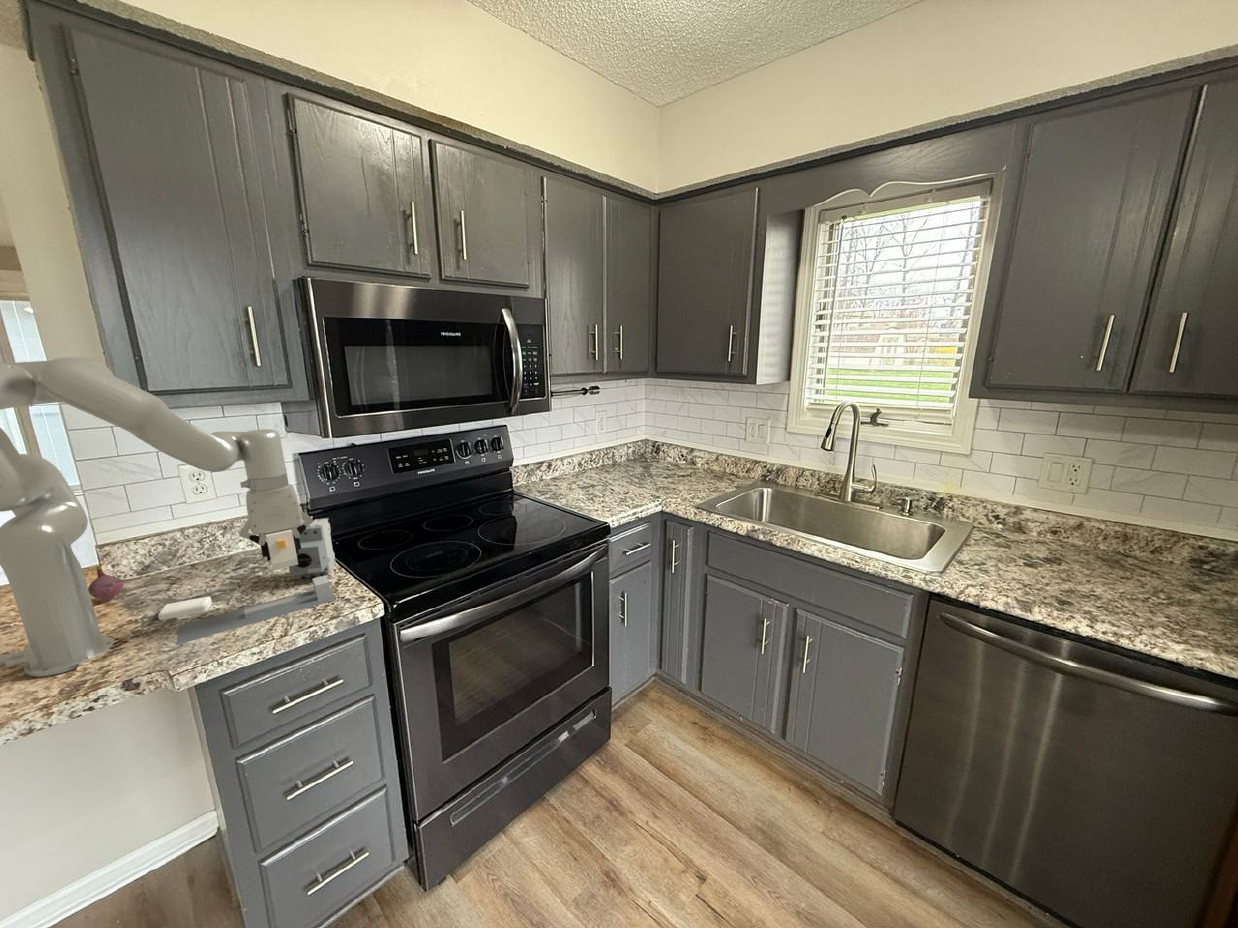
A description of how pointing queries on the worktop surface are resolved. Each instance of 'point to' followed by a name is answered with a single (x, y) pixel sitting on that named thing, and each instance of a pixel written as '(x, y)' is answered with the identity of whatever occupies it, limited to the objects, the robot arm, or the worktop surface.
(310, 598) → the rail
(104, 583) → the vegetable
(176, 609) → the soap
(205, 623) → the board
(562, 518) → the worktop surface
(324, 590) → the end stop
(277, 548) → the block
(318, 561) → the circuit breaker
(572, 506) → the worktop surface
